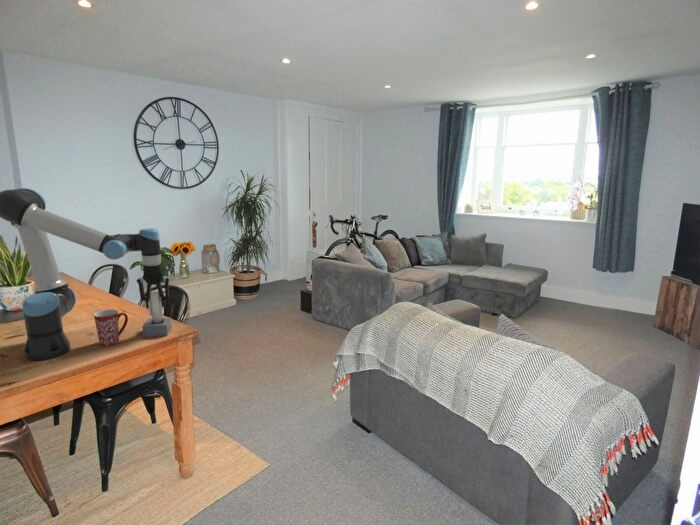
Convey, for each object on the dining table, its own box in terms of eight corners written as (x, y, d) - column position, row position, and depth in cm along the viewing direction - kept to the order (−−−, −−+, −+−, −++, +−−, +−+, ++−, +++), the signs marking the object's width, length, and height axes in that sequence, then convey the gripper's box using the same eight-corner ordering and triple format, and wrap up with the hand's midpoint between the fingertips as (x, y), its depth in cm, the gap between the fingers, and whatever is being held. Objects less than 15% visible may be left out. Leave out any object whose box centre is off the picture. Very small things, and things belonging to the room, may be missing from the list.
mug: (100, 349, 173) (96, 318, 170) (94, 342, 179) (90, 312, 176) (133, 340, 182) (130, 311, 179) (126, 334, 188) (123, 306, 185)
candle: (161, 322, 189) (158, 290, 186) (151, 323, 188) (148, 291, 185) (163, 319, 193) (160, 288, 190) (153, 320, 192) (150, 288, 189)
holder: (167, 335, 188) (166, 325, 187) (143, 337, 186) (142, 326, 185) (171, 327, 197) (170, 317, 196) (148, 328, 195) (147, 318, 194)
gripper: (174, 261, 190) (178, 310, 195) (133, 262, 186) (138, 312, 191) (171, 265, 183) (175, 316, 188) (128, 266, 179) (134, 318, 184)
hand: (156, 314), depth 190 cm, fingers closed on candle, 4 cm apart
